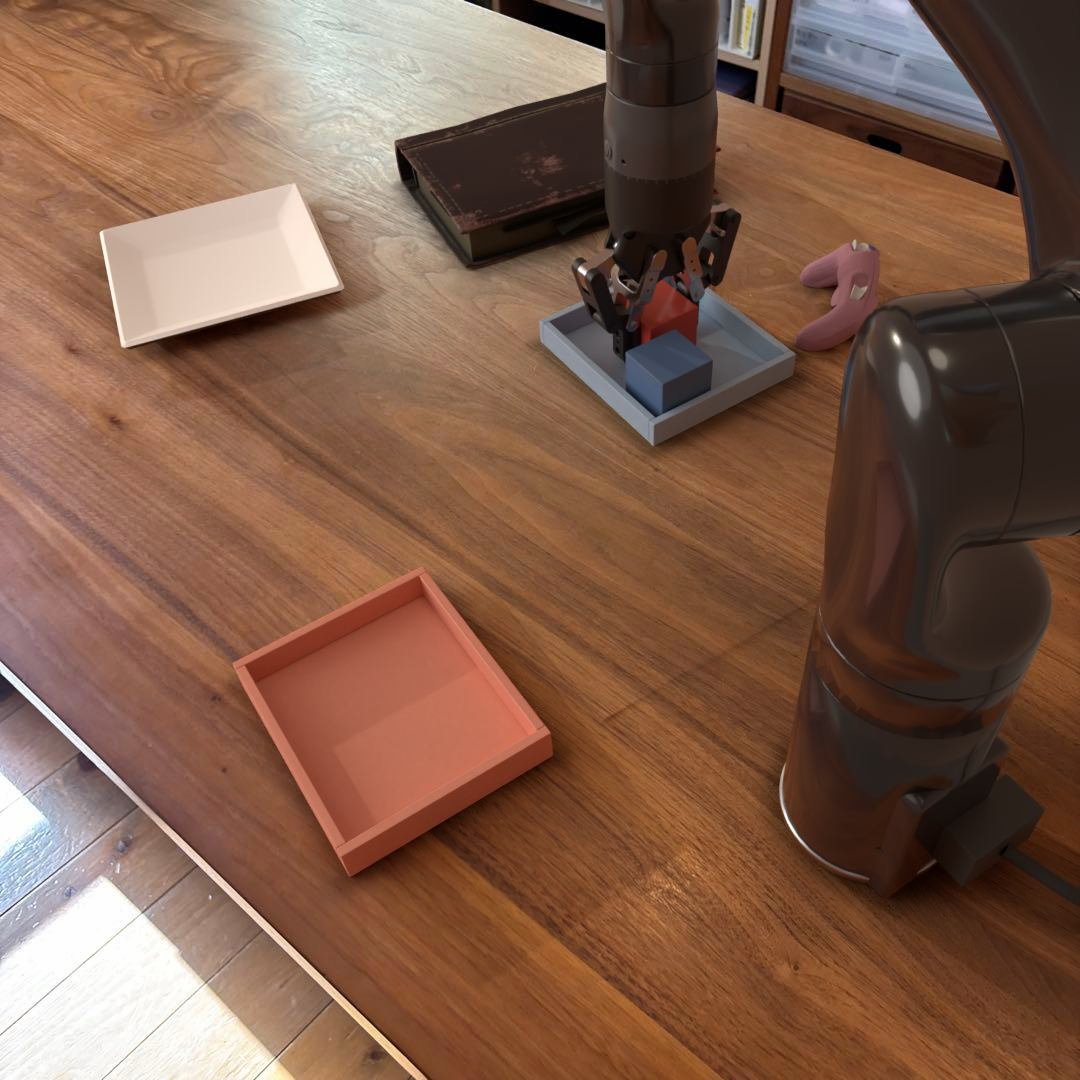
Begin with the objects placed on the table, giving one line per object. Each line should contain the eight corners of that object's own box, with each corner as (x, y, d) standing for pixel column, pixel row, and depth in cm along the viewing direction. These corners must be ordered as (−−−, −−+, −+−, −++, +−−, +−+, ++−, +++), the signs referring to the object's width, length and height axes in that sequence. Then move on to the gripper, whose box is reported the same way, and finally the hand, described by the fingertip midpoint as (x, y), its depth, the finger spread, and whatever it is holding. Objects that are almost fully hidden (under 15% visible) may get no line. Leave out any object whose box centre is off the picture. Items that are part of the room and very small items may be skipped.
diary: (399, 182, 107) (390, 133, 104) (628, 115, 113) (628, 67, 109) (470, 281, 96) (464, 231, 92) (722, 201, 102) (726, 151, 98)
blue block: (710, 407, 83) (713, 359, 79) (661, 431, 81) (662, 384, 78) (673, 375, 85) (674, 328, 82) (625, 399, 84) (625, 352, 80)
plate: (106, 248, 103) (98, 229, 101) (302, 199, 106) (297, 180, 105) (129, 366, 91) (120, 346, 89) (349, 306, 95) (344, 286, 93)
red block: (696, 354, 87) (698, 306, 83) (649, 376, 85) (650, 329, 82) (661, 325, 89) (662, 278, 86) (615, 347, 88) (615, 300, 85)
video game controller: (838, 374, 87) (894, 312, 82) (788, 350, 86) (841, 285, 81) (841, 299, 93) (893, 237, 88) (795, 275, 93) (844, 211, 87)
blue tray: (792, 379, 85) (796, 353, 83) (653, 450, 81) (653, 425, 79) (671, 285, 94) (672, 260, 92) (540, 345, 89) (538, 320, 88)
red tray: (553, 755, 64) (551, 732, 62) (350, 877, 60) (341, 856, 58) (427, 589, 73) (422, 565, 71) (242, 686, 69) (231, 662, 67)
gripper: (604, 206, 70) (608, 410, 83) (779, 133, 74) (757, 337, 87) (540, 158, 74) (553, 358, 87) (708, 92, 79) (698, 292, 92)
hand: (656, 347), depth 87 cm, fingers closed on red block, 4 cm apart
